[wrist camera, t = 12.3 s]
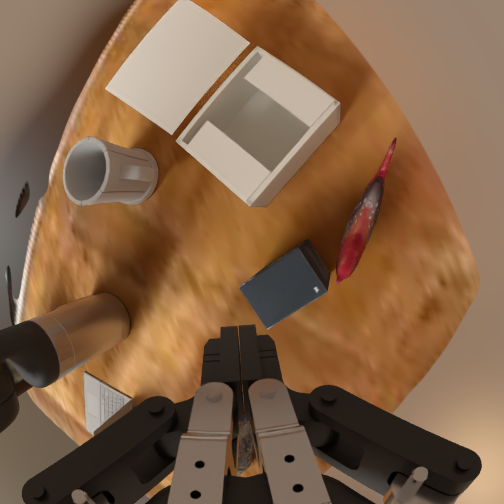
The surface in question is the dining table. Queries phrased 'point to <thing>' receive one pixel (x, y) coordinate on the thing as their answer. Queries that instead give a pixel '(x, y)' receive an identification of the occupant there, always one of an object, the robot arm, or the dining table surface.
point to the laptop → (103, 404)
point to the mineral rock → (245, 446)
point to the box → (287, 284)
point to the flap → (176, 64)
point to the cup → (108, 173)
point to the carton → (260, 127)
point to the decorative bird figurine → (362, 222)
